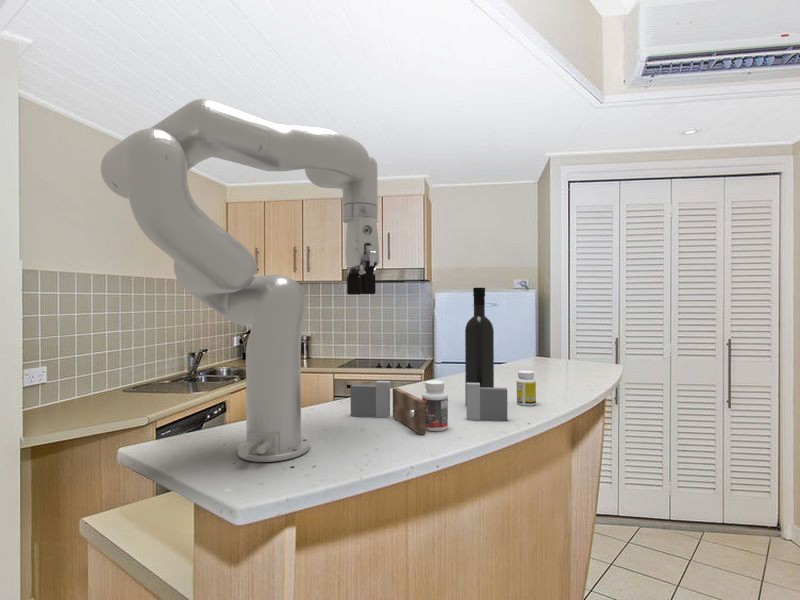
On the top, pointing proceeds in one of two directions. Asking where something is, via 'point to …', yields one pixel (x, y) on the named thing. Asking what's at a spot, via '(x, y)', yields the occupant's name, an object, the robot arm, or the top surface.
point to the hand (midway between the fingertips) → (360, 294)
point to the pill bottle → (435, 406)
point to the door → (409, 410)
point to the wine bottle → (479, 345)
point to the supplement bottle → (526, 388)
